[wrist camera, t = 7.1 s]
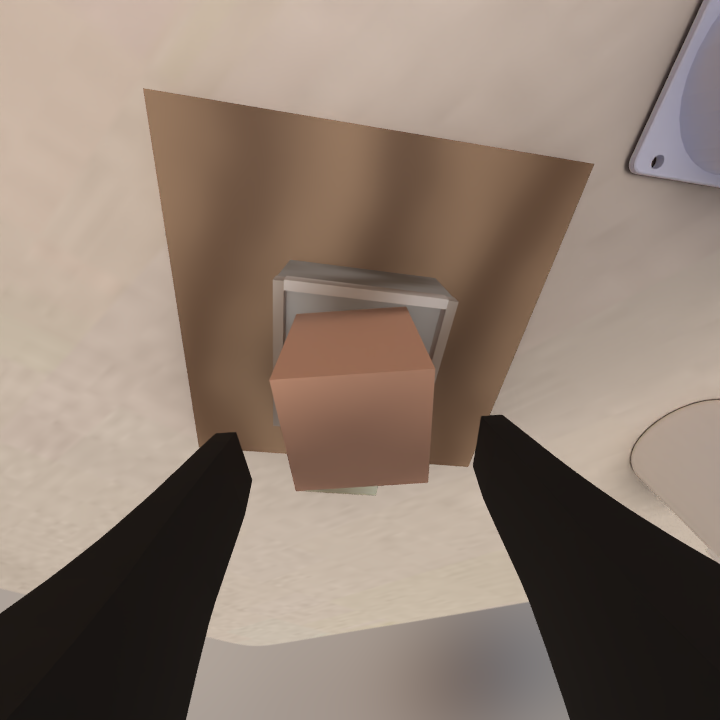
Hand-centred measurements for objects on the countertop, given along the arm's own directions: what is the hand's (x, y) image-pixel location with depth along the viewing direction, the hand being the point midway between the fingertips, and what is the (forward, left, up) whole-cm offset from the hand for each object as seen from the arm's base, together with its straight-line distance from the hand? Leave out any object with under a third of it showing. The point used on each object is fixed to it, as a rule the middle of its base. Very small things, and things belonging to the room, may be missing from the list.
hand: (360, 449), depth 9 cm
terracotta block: (0, 0, -5) cm, 5 cm away
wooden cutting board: (0, 0, -9) cm, 9 cm away
